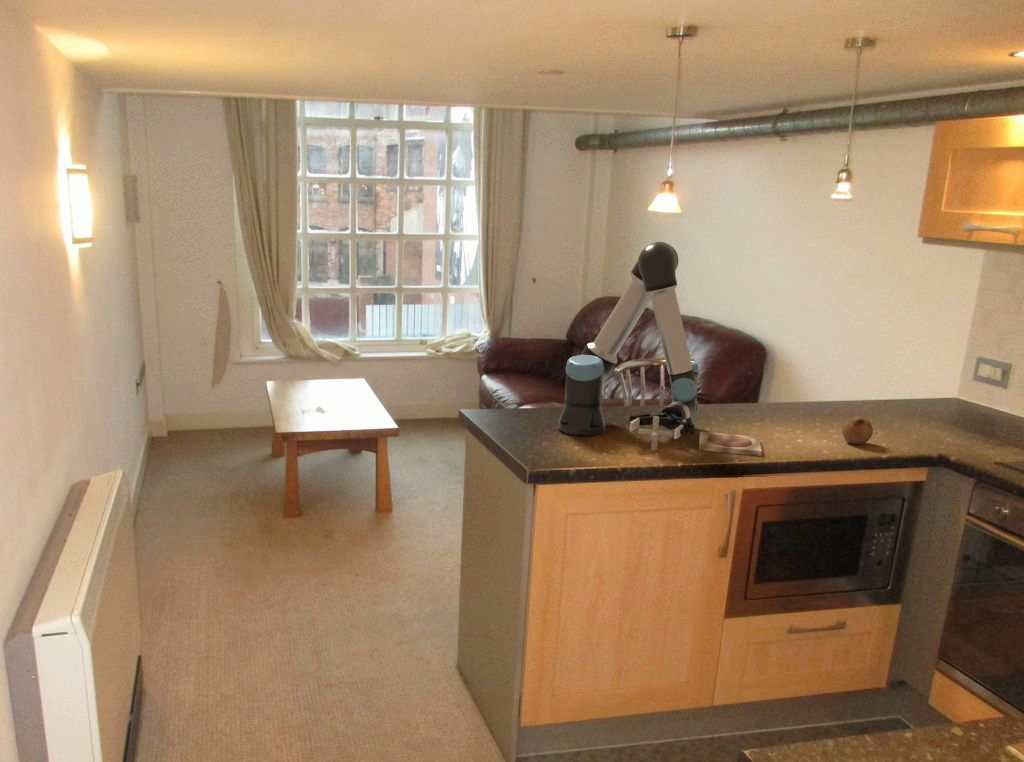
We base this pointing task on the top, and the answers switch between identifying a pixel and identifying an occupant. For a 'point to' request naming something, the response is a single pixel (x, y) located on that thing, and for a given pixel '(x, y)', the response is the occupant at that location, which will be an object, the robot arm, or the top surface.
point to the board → (730, 443)
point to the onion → (857, 430)
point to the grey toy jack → (655, 433)
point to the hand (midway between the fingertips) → (652, 430)
